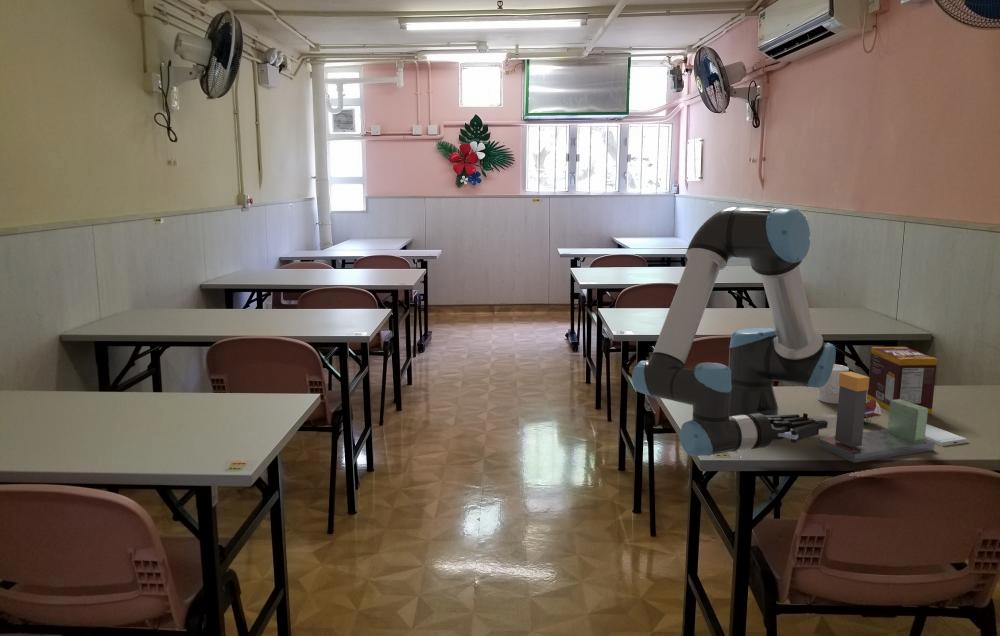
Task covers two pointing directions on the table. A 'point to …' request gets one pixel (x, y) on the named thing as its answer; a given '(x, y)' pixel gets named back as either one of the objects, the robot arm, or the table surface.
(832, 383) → the white cup
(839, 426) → the lever
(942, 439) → the hard drive
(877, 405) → the geometric puzzle
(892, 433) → the grey base stand
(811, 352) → the robot arm
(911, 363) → the supplement box
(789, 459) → the table surface
